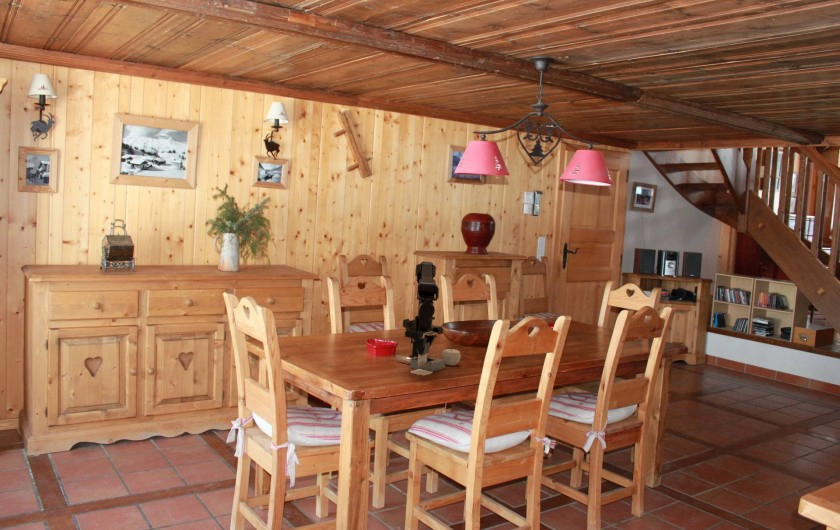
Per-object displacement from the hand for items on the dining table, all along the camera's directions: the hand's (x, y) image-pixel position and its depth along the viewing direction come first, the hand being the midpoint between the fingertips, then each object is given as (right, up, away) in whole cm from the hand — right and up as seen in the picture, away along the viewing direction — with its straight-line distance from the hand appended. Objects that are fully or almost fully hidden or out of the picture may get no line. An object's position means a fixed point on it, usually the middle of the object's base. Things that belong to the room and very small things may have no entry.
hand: (422, 353), depth 276 cm
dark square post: (0, -5, 0) cm, 5 cm away
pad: (-1, -8, +1) cm, 8 cm away
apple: (+12, -7, +19) cm, 23 cm away
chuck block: (-2, -7, +12) cm, 14 cm away
